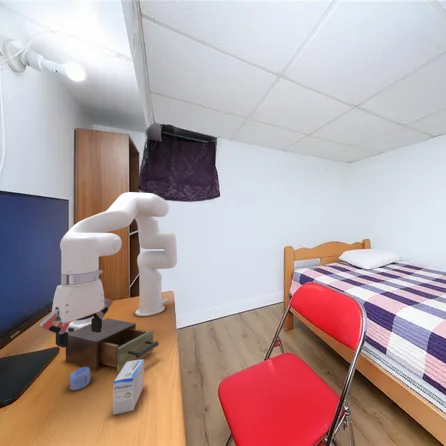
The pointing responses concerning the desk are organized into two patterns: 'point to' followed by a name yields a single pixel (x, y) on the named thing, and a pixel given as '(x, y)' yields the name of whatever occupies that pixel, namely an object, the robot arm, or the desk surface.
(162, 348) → the desk surface
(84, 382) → the decorative dice
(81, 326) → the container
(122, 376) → the medicine box
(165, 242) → the robot arm
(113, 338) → the drawer
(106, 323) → the cabinet
